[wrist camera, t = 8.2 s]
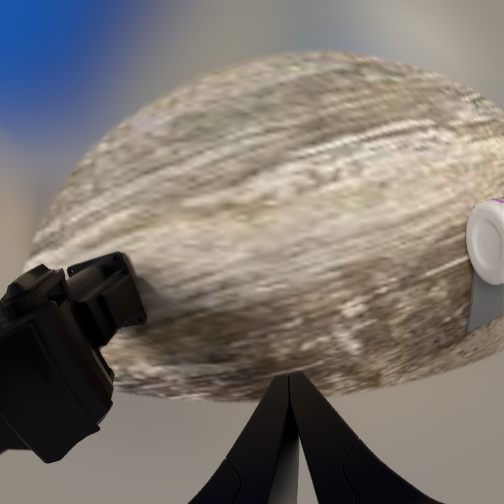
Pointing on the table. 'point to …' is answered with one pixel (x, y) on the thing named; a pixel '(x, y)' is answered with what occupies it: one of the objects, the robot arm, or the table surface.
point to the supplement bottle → (487, 240)
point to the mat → (484, 302)
